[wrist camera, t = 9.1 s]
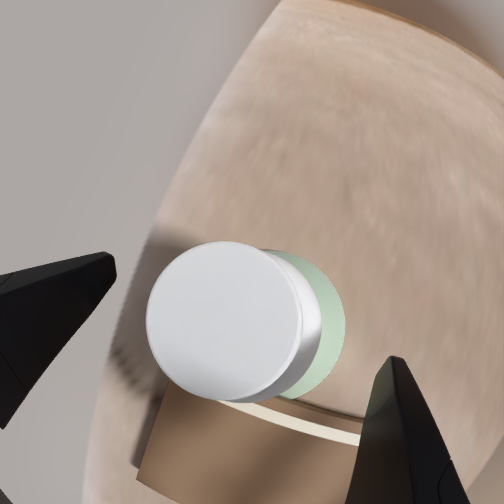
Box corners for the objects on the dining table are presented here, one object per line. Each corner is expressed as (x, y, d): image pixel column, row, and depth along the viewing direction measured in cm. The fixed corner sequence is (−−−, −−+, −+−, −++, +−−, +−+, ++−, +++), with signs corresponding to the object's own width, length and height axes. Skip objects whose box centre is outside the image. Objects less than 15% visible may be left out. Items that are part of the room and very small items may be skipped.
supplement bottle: (199, 326, 16) (91, 306, 7) (267, 264, 17) (227, 176, 8) (261, 395, 15) (210, 465, 5) (331, 331, 15) (380, 322, 6)
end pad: (342, 400, 14) (343, 402, 14) (190, 395, 16) (188, 396, 15) (341, 250, 17) (342, 248, 16) (197, 253, 18) (195, 252, 18)
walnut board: (424, 430, 12) (432, 436, 11) (355, 541, 10) (358, 551, 9) (185, 356, 16) (176, 357, 15) (144, 473, 14) (134, 480, 13)
